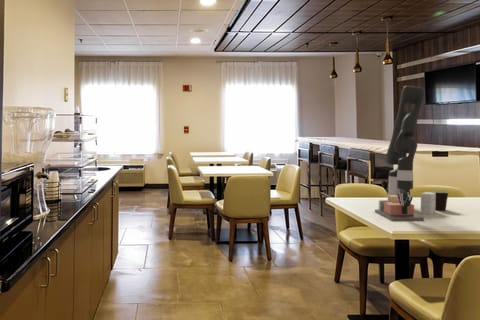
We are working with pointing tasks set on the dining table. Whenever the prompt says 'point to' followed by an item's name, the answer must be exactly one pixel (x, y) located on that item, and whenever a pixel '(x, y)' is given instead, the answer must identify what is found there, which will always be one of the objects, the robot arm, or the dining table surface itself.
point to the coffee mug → (440, 200)
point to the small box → (428, 202)
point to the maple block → (393, 198)
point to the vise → (396, 217)
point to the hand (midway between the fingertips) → (404, 214)
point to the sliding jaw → (397, 208)
